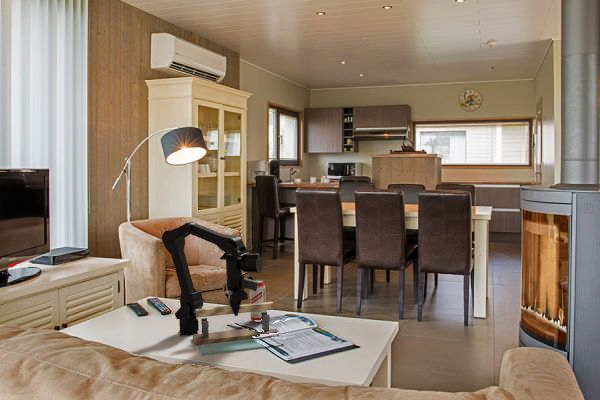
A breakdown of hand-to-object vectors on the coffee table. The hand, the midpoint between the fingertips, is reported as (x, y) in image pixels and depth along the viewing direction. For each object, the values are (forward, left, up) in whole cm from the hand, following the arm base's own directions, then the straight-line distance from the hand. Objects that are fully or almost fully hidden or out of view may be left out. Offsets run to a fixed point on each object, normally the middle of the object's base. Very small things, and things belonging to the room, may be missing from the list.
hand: (235, 314), depth 191 cm
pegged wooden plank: (0, 0, -7) cm, 7 cm away
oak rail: (0, 0, +1) cm, 1 cm away
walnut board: (0, 0, -8) cm, 8 cm away
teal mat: (0, -10, -8) cm, 13 cm away
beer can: (+12, +18, -8) cm, 23 cm away
